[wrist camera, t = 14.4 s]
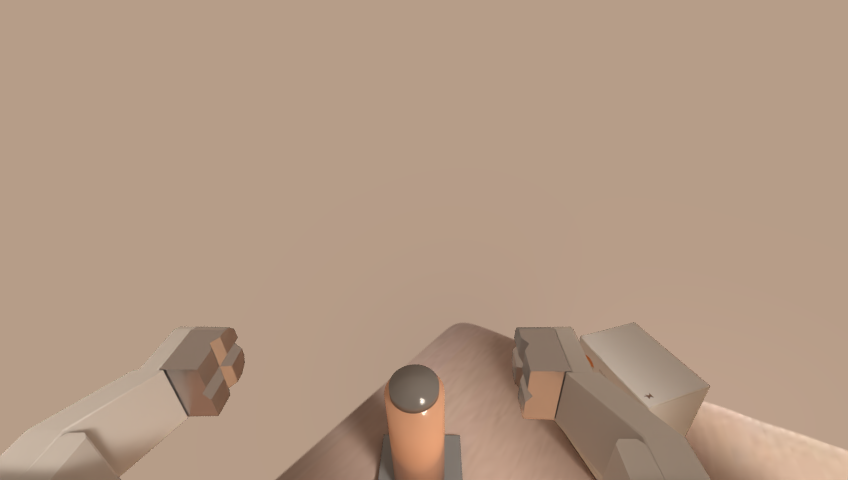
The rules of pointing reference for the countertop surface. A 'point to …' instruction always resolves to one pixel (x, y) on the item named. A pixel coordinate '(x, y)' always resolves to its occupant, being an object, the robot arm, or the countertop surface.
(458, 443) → the mat
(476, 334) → the countertop surface
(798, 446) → the countertop surface
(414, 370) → the jar
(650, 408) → the small box
